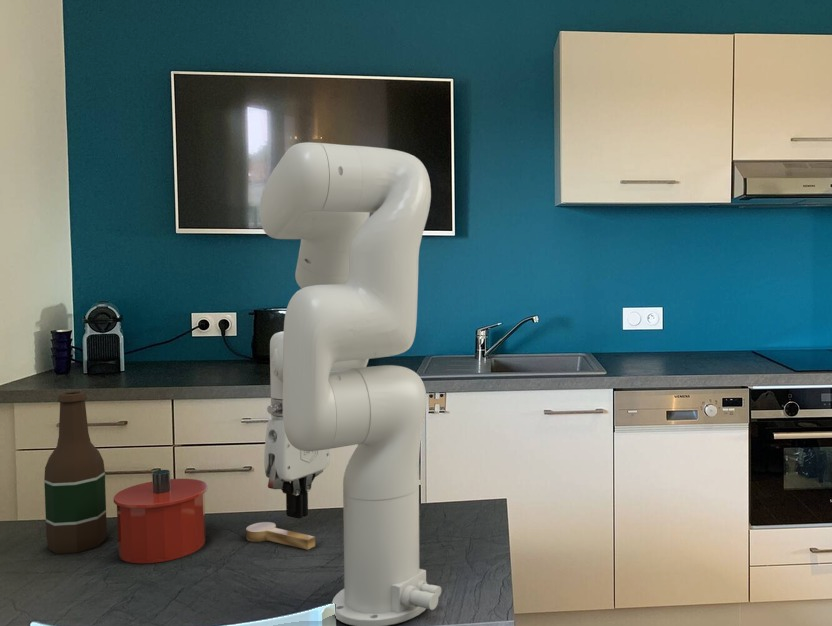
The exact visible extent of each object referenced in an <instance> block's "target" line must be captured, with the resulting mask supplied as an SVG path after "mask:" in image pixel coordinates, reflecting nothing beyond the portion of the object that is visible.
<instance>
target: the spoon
mask: <svg viewBox="0 0 832 626" xmlns="http://www.w3.org/2000/svg"><path fill="white" fill-rule="evenodd" d="M245 531H246V532H245V537H246V539H245V540H247V541H248V542H253V543H256V542H257V543H259V542H260V543H261V542H265V541H269V542H272V543H277V544H282V545H284V546H285V545H286V546H290V547H294V548H299V549H301V550H307V551H308V550H310V549H313V548H314V547H316V536H314V535H309V534H305V533H300V532H298V531H297V532H296V531H293V530H292V531H291V530H287V529H282V528H278V527H277V525H276V523H275V522H271V521H261V522H255V523H252V524H250V525H248V526H247V527H246V528H245Z"/></svg>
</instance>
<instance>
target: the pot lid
mask: <svg viewBox="0 0 832 626" xmlns="http://www.w3.org/2000/svg"><path fill="white" fill-rule="evenodd" d="M151 477H152V481H147V482H143V483H139V484H135V485H132V486H129V487H126V488H123V489H122V490H119V491H118V492H117V493H115V494H114V496H113V504H115V505H116V506H117V505H118V506H121V507H127V508H153V507H162V506H168V505H173V504H178V503H182V502H186V501H189V500H192V499H194V498H197V497H199V496H201V495H202V494H204V493H205V494H206V492H207V491H208V489H209V488H208V486H209V485H208V483H207V482H205V481H203V480H200V479H196V478H171V470H169V469H159V470H155V471H153V472H152V473H151Z"/></svg>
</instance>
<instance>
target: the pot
mask: <svg viewBox="0 0 832 626" xmlns="http://www.w3.org/2000/svg"><path fill="white" fill-rule="evenodd" d="M116 523H117V549H118V550H117V552H118V556H119V557H118V558H119V559H120V560H122V561H124V562H126V563H131V564H155V563H157V564H158V563H163V562H168V561H173V560H178V559H180V558H181V559H182V558H185V557H186V556H189V555H191V554H194V553H196V552H198V551H200V549H201V548H203V547H204V545H205V544H206V538H207V532H206V531H207V529H206V524H207V523H206V492H205V493H204V494H202V495H201V496H199V497H197V498H194V499H192V500H189V501H186V502H182V503H178V504H173V505H168V506H162V507H153V508H127V507H121V506H118V505H116Z"/></svg>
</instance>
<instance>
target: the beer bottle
mask: <svg viewBox="0 0 832 626" xmlns="http://www.w3.org/2000/svg"><path fill="white" fill-rule="evenodd" d="M87 399H88V395H87V393H86V392H84V391H80V390H73V391H65V392H63V393H60V394H58V397H57V402H58V403H59V419H58V420H59V421H58V438H57V444H56V447H55V448H54V450H53V451H52V453H51V454H50V455H49V457H48V459H47V461H46V464H45V467H44V478H43V482H44V483H43V484H44V509H45V534H46V537H45V538H46V546H47V549H48V550H49V551H50V552H53V553H55V554H56V555H62V554H64V555H65V554H77V553H82V552H85V551H89V550H91V549H95V548H98V547H99V546H100V545H101V544H103V542H105V541H106V539H107V527H108V526H107V523H108V522H107V495H106V492H107V491H106V470H105V461H104V459H103V456H102V455H101V452H100V450H99V449H98V448H97V447H96V446H95V445H94V444H93V443H92V441H91V438H90V434H89V426H88V415H87V408H86V407H87V406H86V400H87Z"/></svg>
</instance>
